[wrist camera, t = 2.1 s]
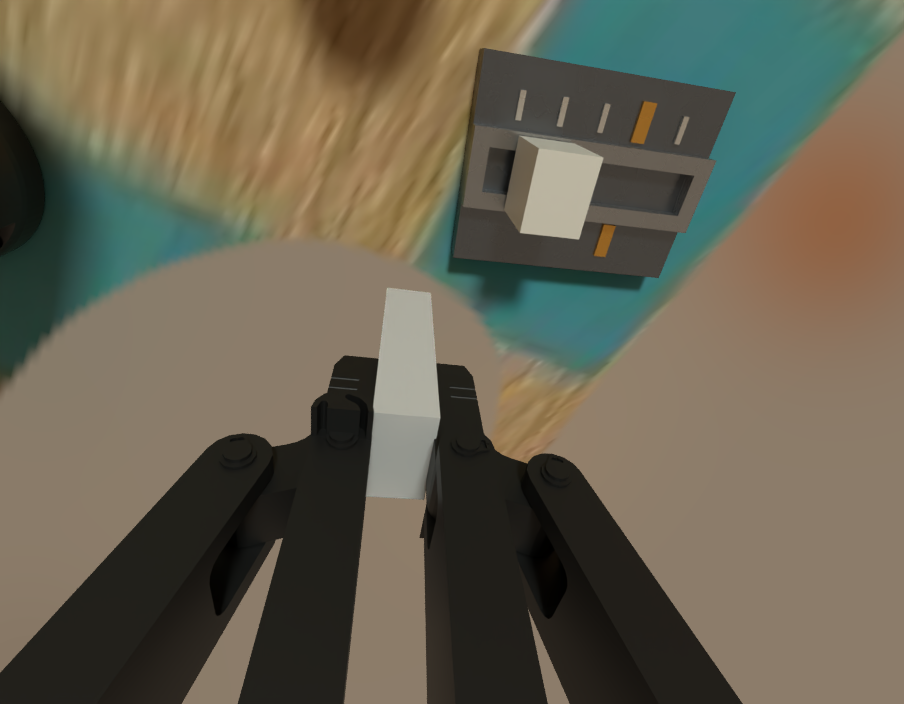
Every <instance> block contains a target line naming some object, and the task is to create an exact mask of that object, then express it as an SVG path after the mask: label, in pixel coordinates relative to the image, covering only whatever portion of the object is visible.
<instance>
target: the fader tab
mask: <svg viewBox="0 0 904 704" xmlns="http://www.w3.org/2000/svg"><path fill="white" fill-rule="evenodd" d="M602 161H603V157H601V156H599V155H597V154H595V153H593V152H591V151H589V150H587V149H585V148H583V147H581V146H579V145H577V144H574V143H567V142H561V141H554V140H547V139H540V138H533V137H526V136H520V135H519V138H518V143H517V148H516V153H515V158H514V163H513V168H512V173H511V178H510V183H509V188H508V193H507V198H506V203H505V208H504V211H505V212H506V213H507V215H508V216H509V218H510V219H511V221H512V222H513V224H514V225H515V227H516V228H517V229H518V231H519V232H520V233H525V234H534V235H543V236H552V237H561V238H570V239H579V238H580V235H581V231H582V228H583V225H584V221H585V218H586V215H587V211H588V208H589V205H590V201H591V198H592V195H593V191H594V188H595V185H596V181H597V178H598V175H599V171H600V168H601V165H602Z"/></svg>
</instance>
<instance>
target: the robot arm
mask: <svg viewBox="0 0 904 704" xmlns="http://www.w3.org/2000/svg"><path fill="white" fill-rule="evenodd" d="M44 202H45V192H44V183H43V178H42V174H41V170H40V167H39V164H38V161H37V158H36V156H35V154H34V151H33V149H32V147H31V145H30V143H29V141H28V139H27V138H26V136H25V134H24V133H23V131H22V129H21V128H20V126H19V125H18V123H17V122H16V120H15V119H14V118H13V116H12V115H11V114H10V112H9V111H8V110H7V109H6V107H5V106H4V105H3V104H2V103H1V101H0V256H2V255H4V254H6V253H8V252H10V251H12V250H14V249H16V248H18V247H20V246H21V245H22V244H24V243H25V242H26V241H27V240H28V239H29V238H30V237H31V236H32V235H33V234H34V232H35V231H36V229H37V227H38V225H39V223H40V221H41V218H42V215H43V210H44ZM425 492H426V499H427V504H426V510H425V514H424V519H423V524H422V529H421V534H420V538H424V558H425V559H424V561H425V613H426V665H427V704H548V703H547V698H546V694H545V689H544V684H543V679H542V674H541V669H540V665H539V660H538V655H537V650H536V646H535V641H534V636H533V631H532V626H531V622H530V617H529V612H530V614H531V616H532V618H533V620H534V623H535V625H536V628H537V630H538V632H539V634H540V637H541V639H542V641H543V643H544V646H545V648H546V650H547V653H548V654H549V657H550V660H551V662H552V664H553V666H554V669H555V671H556V673H557V675H558V678H559V680H560V682H561V685H562V687H563V689H564V691H565V694H566V696H567V698H568V701H569V703H570V704H742V702H741V701H740V699H739V698H738V696H737V695H736V694H735V692H734V691H733V689H732V688H731V686H730V685H729V684H728V682H727V681H726V679H725V678H724V676H723V675H722V674H721V672H720V671H719V669H718V668H717V666H716V665H715V663H714V662H713V661H712V659H711V658H710V656H709V655H708V654H707V652H706V651H705V649H704V648H703V646H702V645H701V644H700V642H699V641H698V639H697V638H696V636H695V635H694V634H693V632H692V631H691V629H690V628H689V626H688V625H687V623H686V622H685V621H684V619H683V618H682V616H681V615H680V613H679V612H678V611H677V609H676V608H675V606H674V605H673V603H672V602H671V601H670V599H669V598H668V596H667V595H666V593H665V592H664V591H663V589H662V588H661V586H660V585H659V583H658V582H657V580H656V579H655V578H654V576H653V575H652V573H651V572H650V570H649V569H648V568H647V566H646V565H645V563H644V562H643V560H642V559H641V558H640V556H639V555H638V553H637V552H636V550H635V549H634V547H633V546H632V545H631V543H630V542H629V540H628V539H627V537H626V536H625V535H624V533H623V532H622V530H621V529H620V527H619V526H618V525H617V523H616V522H615V520H614V519H613V518H612V516H611V515H610V513H609V512H608V511H607V509H606V507H605V506H604V505H603V503H602V502H601V500H600V499H599V497H598V496H597V494H596V493H595V492H594V490H593V489H592V487H591V486H590V484H589V483H588V482H587V480H586V479H585V478H584V476H583V475H582V473H581V472H580V470H579V469H578V468H577V467H576V466H575V465H574V464H573V463H571V462H570V461H568V460H567V459H565V458H563V457H560V456H557V455H554V454H539V455H536V456H534V457H533V458H532V459H531V460H530V461H529V462H528V464H527V463H524V462H521V461H518V460H514V459H511V458H509V457H506V456H504V455H502V454H500V453H499V452H497V451H496V450H495V449H494V446H493V444H492V442H491V440H490V439H488V438H487V437H486V436H485V435H484V433H483V428H482V422H481V417H480V412H479V406H478V401H477V396H476V391H475V386H474V381H473V376H472V375H471V374H470V373H469V371H468V370H467V369H466V368H465V367H464V366H458V365H448V364H437V363H436V356H435V342H434V329H433V316H432V303H431V293H427V292H419V291H410V290H403V289H395V288H387V294H386V303H385V311H384V319H383V328H382V336H381V345H380V353H379V359H376V358H366V357H356V356H343V358H341V359H340V360H339V361H338V362H337V363H336V364H335V365H334V369H333V373H332V378H331V381H330V384H329V388H328V392H327V393H326V394H323V395H322V396H320V397H319V398H317V399H316V400H315V402H314V403H313V405H312V406H311V435H309V436H308V437H306V438H305V439H303V440H300V441H298V442H295V443H291V444H287V445H281V446H275V447H272V446H271V445H270V444H269V443H268V441H267V440H266V439H264V438H262V437H260V436H257V435H254V434H243V433H242V434H236V435H229V436H227V437H225V438H222V439H220V440H218V441H216V442H215V443H213V444H212V445H211V446H209V447H208V448H207V449H206V450H205V451H204V453H202V455H201V456H200V457H199V458H198V459H197V460H196V461H195V462H194V463H193V464H192V465H191V466H190V468H189V469H188V470H187V471H186V472H185V473H184V474H183V475H182V476H181V477H180V478H179V479H178V481H177V482H176V483H175V484H174V485H173V486H172V487H171V488H170V489H169V490H168V491H167V493H166V494H165V495H164V496H163V497H162V498H161V499H160V500H159V501H158V502H157V503H156V505H154V507H153V508H152V509H151V510H150V511H149V512H148V513H147V514H146V515H145V516H144V518H143V519H142V520H141V521H140V522H139V523H138V524H137V525H136V526H135V527H134V528H133V529H132V531H131V532H130V533H129V534H128V535H127V536H126V537H125V538H124V539H123V540H122V541H121V543H120V544H119V545H118V546H117V547H116V548H115V549H114V550H113V551H112V552H111V553H110V554H109V555H108V556H107V558H106V559H105V560H104V561H103V562H102V563H101V564H100V565H99V566H98V567H97V568H96V570H95V571H94V572H93V573H92V574H91V575H90V576H89V577H88V578H87V579H86V580H85V581H84V583H83V584H82V585H81V586H80V587H79V588H78V589H77V590H76V591H75V592H74V593H73V594H72V596H71V597H70V598H69V599H68V600H67V601H66V602H65V603H64V604H63V605H62V607H60V609H59V610H58V611H57V612H56V613H55V614H54V615H53V616H52V617H51V618H50V620H49V621H48V622H47V623H46V624H45V625H44V626H43V627H42V628H41V629H40V630H39V631H38V632H37V634H36V635H35V636H34V637H33V638H32V639H31V640H30V641H29V642H28V643H27V645H26V646H25V647H24V648H23V649H22V650H21V651H20V652H19V653H18V654H17V655H16V656H15V658H13V660H12V661H11V662H10V663H9V664H8V665H7V666H6V667H5V668H4V669H3V671H2V672H1V673H0V704H182V702H183V700H184V698H185V697H186V695H187V693H188V692H189V690H190V688H191V686H192V685H193V683H194V681H195V680H196V678H197V676H198V674H199V673H200V671H201V669H202V667H203V666H204V664H205V662H206V661H207V659H208V657H209V655H210V654H211V652H212V650H213V649H214V647H215V645H216V643H217V642H218V640H219V638H220V636H221V635H222V633H223V631H224V630H225V628H226V626H227V624H228V623H229V621H230V619H231V617H232V616H233V614H234V612H235V610H236V608H237V607H238V605H239V603H240V602H241V600H242V598H243V597H244V595H245V593H246V592H247V590H248V588H249V586H250V585H251V583H252V581H253V579H254V578H255V576H256V574H257V572H258V571H259V569H260V567H261V566H262V564H263V562H264V560H265V559H266V557H267V555H268V554H269V552H270V550H271V548H272V547H273V545H274V543H275V540H276V539H280V538H283V540H282V544H281V548H280V551H279V555H278V558H277V562H276V566H275V569H274V573H273V577H272V580H271V584H270V588H269V591H268V595H267V599H266V602H265V606H264V610H263V613H262V617H261V621H260V624H259V628H258V632H257V635H256V639H255V643H254V646H253V650H252V654H251V657H250V661H249V665H248V668H247V672H246V676H245V679H244V683H243V687H242V690H241V694H240V698H239V701H238V704H344V698H345V689H346V680H347V670H348V660H349V652H350V642H351V633H352V623H353V613H354V604H355V595H356V586H357V577H358V567H359V558H360V549H361V539H362V530H363V520H364V510H365V501H366V497H384V498H403V499H423V500H424V497H425ZM528 609H529V612H528Z"/></svg>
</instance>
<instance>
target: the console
mask: <svg viewBox="0 0 904 704" xmlns="http://www.w3.org/2000/svg"><path fill="white" fill-rule="evenodd" d="M735 93H736V92H730V91H725V90H719V89H713V88H708V87H702V86H696V85H690V84H685V83H679V82H673V81H668V80H662V79H656V78H651V77H645V76H639V75H634V74H628V73H622V72H617V71H611V70H605V69H600V68H594V67H588V66H583V65H577V64H571V63H566V62H560V61H554V60H548V59H543V58H537V57H531V56H526V55H520V54H514V53H509V52H503V51H497V50H492V49H486V48H482V49H480V51H479V58H478V65H477V72H476V79H475V85H474V92H473V99H472V106H471V113H470V120H469V127H468V134H467V141H466V148H465V155H464V162H463V169H462V175H461V182H460V189H459V196H458V203H457V210H456V217H455V224H454V231H453V238H452V245H451V251H452V254H453V258H463V259H473V260H484V261H494V262H504V263H514V264H524V265H534V266H544V267H554V268H564V269H574V270H584V271H594V272H605V273H615V274H625V275H635V276H645V277H655V278H659V275H660V273H661V271H662V268H663V266H664V263H665V261H666V259H667V256H668V254H669V251H670V249H671V247H672V244H673V242H674V240H675V237H676V235H677V232H681V233H686V231H687V228H688V226H689V223H690V221H691V219H692V216H693V214H694V212H695V209H696V207H697V205H698V202H699V200H700V198H701V195H702V193H703V191H704V188H705V186H706V184H707V181H708V179H709V177H710V174H711V172H712V170H713V167H714V165H715V163H716V160H712V159H709V156H710V153H711V151H712V148H713V146H714V144H715V141H716V139H717V137H718V134H719V132H720V129H721V127H722V125H723V122H724V120H725V117H726V115H727V113H728V110H729V108H730V105H731V103H732V101H733V98H734V96H735ZM519 135H520V136H526V137H533V138H540V139H547V140H554V141H561V142H567V143H574V144H577V145H579V146H581V147H583V148H585V149H587V150H589V151H591V152H593V153H595V154H597V155H599V156H601V157H603V161H602V165H601V168H600V171H599V175H598V178H597V181H596V185H595V188H594V191H593V195H592V198H591V201H590V205H589V208H588V211H587V215H586V218H585V221H584V225H583V228H582V231H581V235H580V238H579V239H570V238H561V237H552V236H543V235H534V234H525V233H520V232H519V231H518V229H517V228H516V227H515V225H514V224H513V222H512V221H511V219H510V218H509V216H508V215H507V213H506V212H505V211H504V208H505V203H506V198H507V193H508V188H509V183H510V178H511V173H512V168H513V163H514V158H515V153H516V148H517V143H518V138H519Z"/></svg>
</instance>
